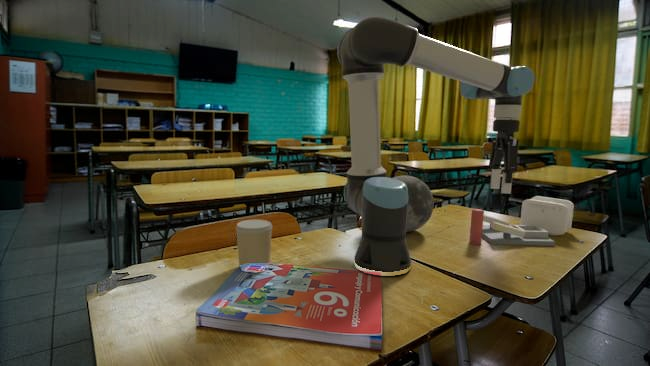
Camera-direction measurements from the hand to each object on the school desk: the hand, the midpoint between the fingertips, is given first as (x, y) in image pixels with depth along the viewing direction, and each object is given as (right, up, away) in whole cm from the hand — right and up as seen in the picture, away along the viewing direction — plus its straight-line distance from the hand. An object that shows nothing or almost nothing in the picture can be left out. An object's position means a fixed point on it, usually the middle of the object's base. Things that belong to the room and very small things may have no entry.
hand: (500, 190), depth 123 cm
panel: (+7, -16, +9) cm, 20 cm away
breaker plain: (+4, -11, +13) cm, 17 cm away
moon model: (-28, -15, +14) cm, 35 cm away
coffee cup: (-75, -20, -22) cm, 81 cm away
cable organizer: (+25, -15, +17) cm, 34 cm away
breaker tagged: (+3, -14, +2) cm, 14 cm away
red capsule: (-8, -17, +1) cm, 19 cm away
